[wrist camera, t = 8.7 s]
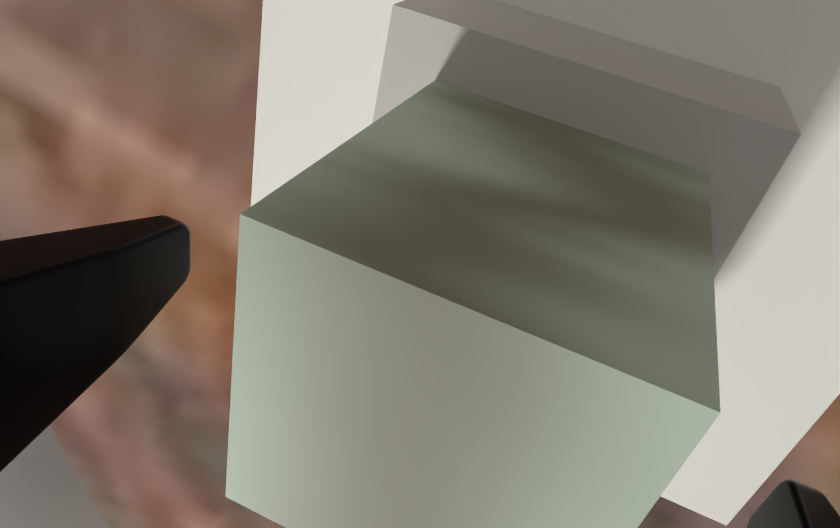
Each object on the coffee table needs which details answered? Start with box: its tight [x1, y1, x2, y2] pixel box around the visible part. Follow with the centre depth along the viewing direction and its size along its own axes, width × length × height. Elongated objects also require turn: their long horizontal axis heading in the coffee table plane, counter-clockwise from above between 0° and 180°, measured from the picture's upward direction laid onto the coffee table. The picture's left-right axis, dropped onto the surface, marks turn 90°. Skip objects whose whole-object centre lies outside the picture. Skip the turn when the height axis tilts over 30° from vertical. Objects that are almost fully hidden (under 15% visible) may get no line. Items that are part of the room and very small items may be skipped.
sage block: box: [225, 80, 721, 528], centre depth 10 cm, size 5×5×6 cm
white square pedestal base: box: [251, 0, 840, 526], centre depth 14 cm, size 16×16×4 cm
